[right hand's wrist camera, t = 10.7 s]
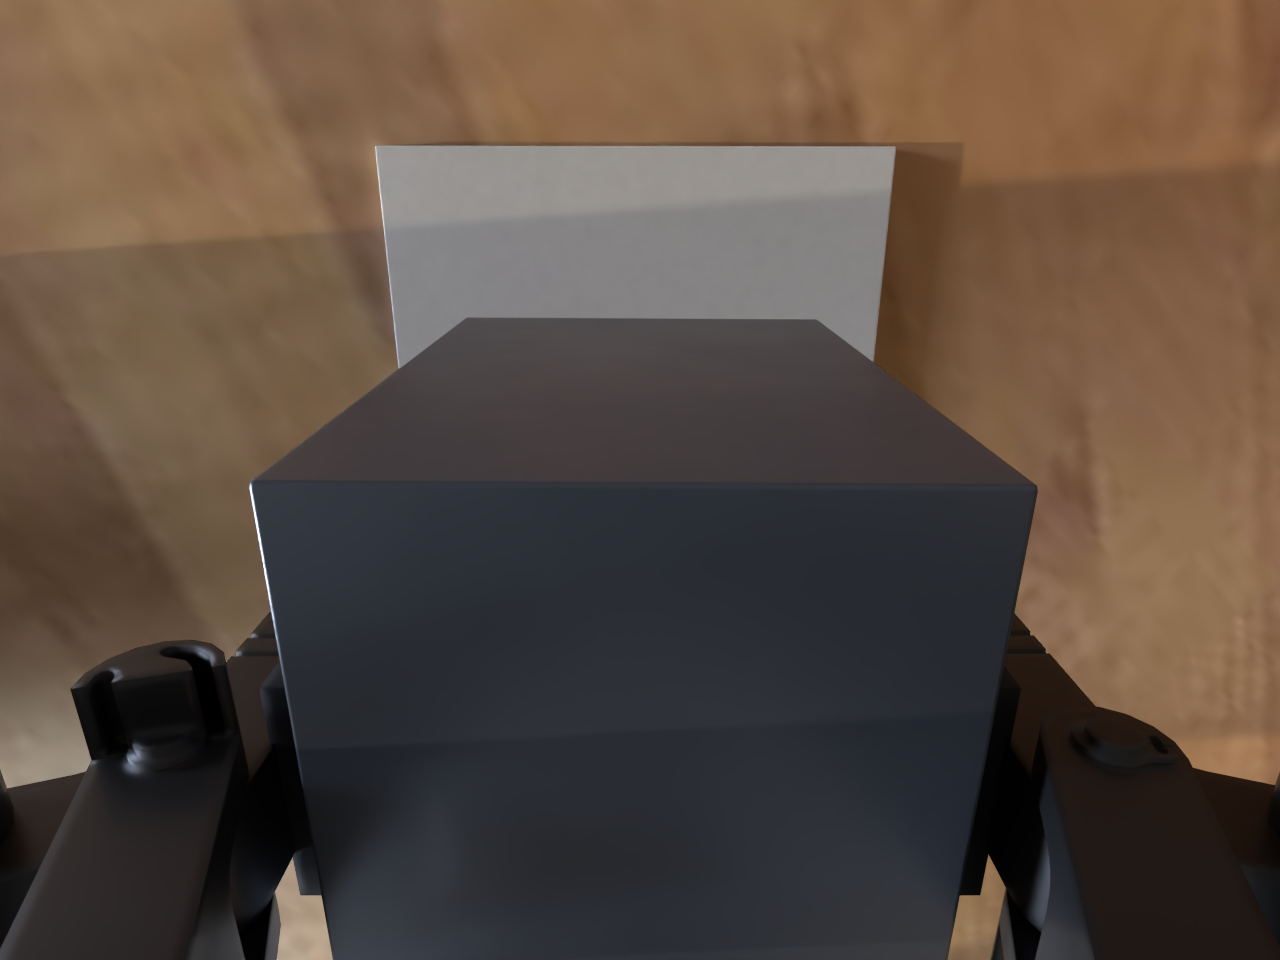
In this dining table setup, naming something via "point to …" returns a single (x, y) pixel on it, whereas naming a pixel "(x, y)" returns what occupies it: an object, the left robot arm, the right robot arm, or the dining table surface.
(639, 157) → the mat
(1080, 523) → the dining table surface
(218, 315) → the dining table surface
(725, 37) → the dining table surface
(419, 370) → the beam
